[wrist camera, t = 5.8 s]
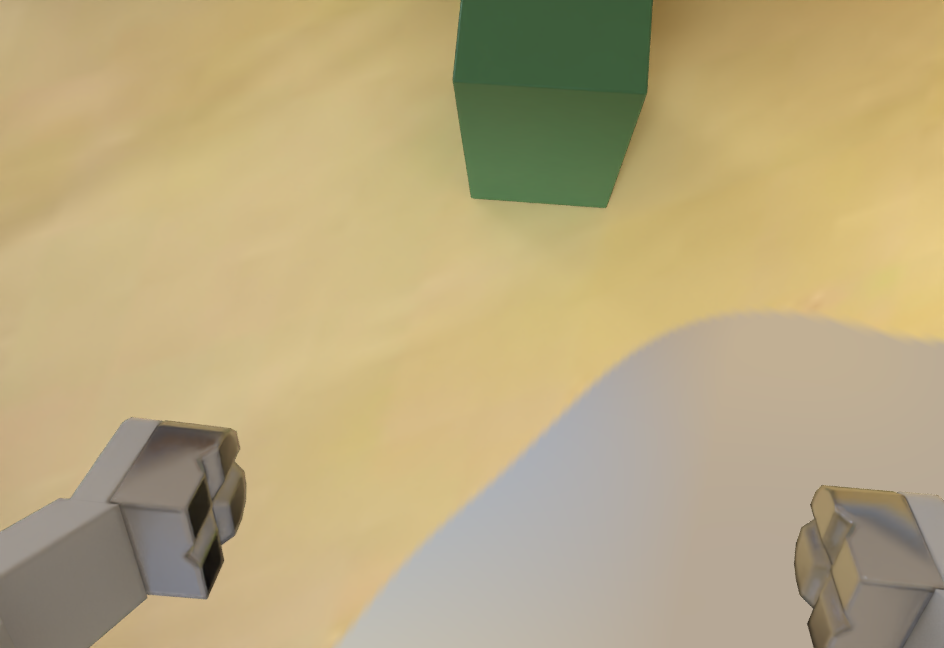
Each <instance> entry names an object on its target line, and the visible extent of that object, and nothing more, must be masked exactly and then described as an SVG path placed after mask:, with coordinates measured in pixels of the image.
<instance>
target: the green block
mask: <svg viewBox="0 0 944 648" xmlns="http://www.w3.org/2000/svg"><path fill="white" fill-rule="evenodd" d="M652 6H653V0H461V3H460V13H459V23H458V32H457V42H456V52H455V61H454V71H453V86H454V92H455V98H456V105H457V111H458V118H459V124H460V130H461V137H462V143H463V149H464V156H465V162H466V169H467V175H468V181H469V188H470V194H471V198H475V199H489V200H503V201H517V202H530V203H544V204H558V205H571V206H585V207H599V208H606V207H607V204H608V202H609V199H610V196H611V193H612V190H613V187H614V185H615V182H616V179H617V176H618V173H619V171H620V168H621V165H622V162H623V159H624V156H625V154H626V151H627V148H628V145H629V142H630V140H631V137H632V134H633V131H634V128H635V125H636V123H637V120H638V117H639V114H640V111H641V109H642V106H643V103H644V100H645V97H646V95H647V89H648V72H649V56H650V39H651V22H652Z"/></svg>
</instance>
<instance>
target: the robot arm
mask: <svg viewBox="0 0 944 648" xmlns="http://www.w3.org/2000/svg"><path fill="white" fill-rule="evenodd" d="M239 450H240V445H239V441H238V436H237V432H236V431H235V430H233V429H231V428H224V427H216V426H208V425H199V424H191V423H183V422H175V421H166V420H165V421H160V420H152V419H144V418H136V417H131V418H129V419H127V420H126V421H124V422H123V423H122V424H121V425H120V426H119V428H118V429H117V431H116V432H115V433H114V435H113V436H112V438H111V439H110V441H109V442H108V444H107V445H106V447H105V448H104V450H103V451H102V452H101V454H100V455H99V457H98V458H97V460H96V461H95V463H94V464H93V466H92V467H91V469H90V470H89V471H88V473H87V474H86V476H85V477H84V479H83V480H82V482H81V483H80V485H79V486H78V488H77V489H76V490H75V492H74V493H73V495H72V496H71V498H70V499H64V498H59V499H57V500H55V501H54V502H52V503H50V504H48V505H46V506H45V507H43V508H41V509H39V510H38V511H36V512H34V513H32V514H31V515H29V516H27V517H25V518H24V519H22V520H20V521H18V522H17V523H15V524H13V525H11V526H10V527H8V528H6V529H4V530H3V531H1V532H0V648H89V647H90V646H92V645H93V644H94V643H95V642H96V641H97V640H99V639H100V638H101V637H102V636H103V635H104V634H106V633H107V632H108V631H109V630H110V629H112V628H113V627H114V626H115V625H116V624H117V623H119V622H120V621H121V620H122V619H123V618H124V617H126V616H127V615H128V614H129V613H130V612H131V611H133V610H134V609H135V608H136V607H137V606H138V605H140V604H141V603H142V602H143V601H144V600H145V599H147V594H148V595H160V596H172V597H184V598H196V599H207V598H208V596H209V594H210V591H211V589H212V587H213V585H214V582H215V580H216V578H217V576H218V573H219V571H220V569H221V567H222V564H223V562H224V557H223V553H222V548H221V545H222V544H224V543H225V542H226V541H228V540H229V539H231V538H232V537H233V536H235V534H236V532H237V530H238V527H239V525H240V522H241V520H242V516H243V511H244V507H245V502H246V479H245V473H244V470H243V469H242V468H241V467H240V466H239V465H238V464H237V463H236V462H235V459H236V456H237V454H238V452H239ZM810 505H811V509H812V512H813V516H814V520H812V521H810V522H809V523H807V524H806V525H804V526H803V527H802V528H801V531H800V533H799V536H798V539H797V542H796V548H795V561H794V566H795V575H796V582H797V586H798V589H799V594H800V596H801V597H802V598H803V599H804V600H805V601H806V602H807V603H808V604H809V605H810V606H811V607H812V608H813V611H812V614H811V616H810V618H809V621H808V623H807V625H808V628H809V632H810V636H811V639H812V643H813V647H814V648H944V500H943V499H942V498H940V497H939V496H938V495H931V494H919V493H908V492H897V493H896V492H893V491H882V490H871V489H859V488H848V487H837V486H826V485H825V486H824V485H822V486H821V487H820V488H819V489H818V490H817V491H816V492H815V494H814V497H813V499H812V502H811V504H810Z"/></svg>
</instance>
